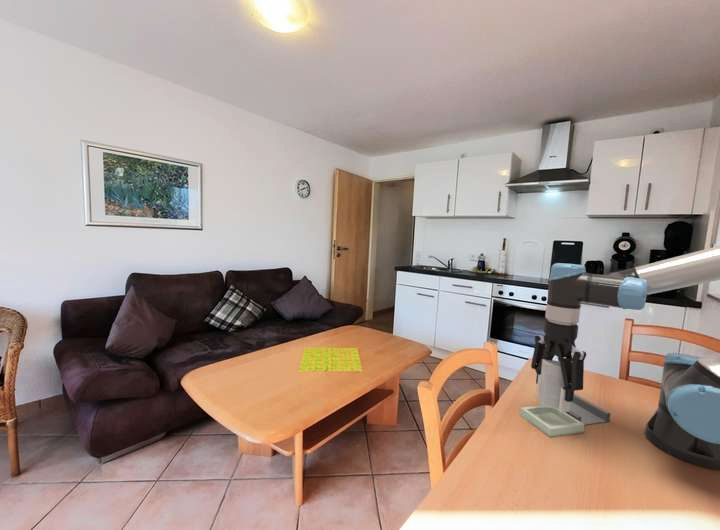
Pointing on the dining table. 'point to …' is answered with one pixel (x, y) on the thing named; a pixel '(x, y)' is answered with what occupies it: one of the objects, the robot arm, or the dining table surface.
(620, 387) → the dining table surface
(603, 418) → the tray
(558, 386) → the skincare box
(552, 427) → the tray
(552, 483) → the dining table surface
